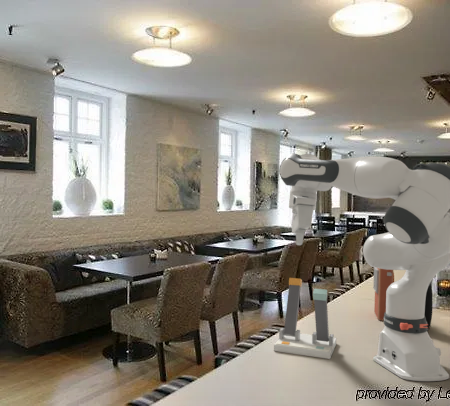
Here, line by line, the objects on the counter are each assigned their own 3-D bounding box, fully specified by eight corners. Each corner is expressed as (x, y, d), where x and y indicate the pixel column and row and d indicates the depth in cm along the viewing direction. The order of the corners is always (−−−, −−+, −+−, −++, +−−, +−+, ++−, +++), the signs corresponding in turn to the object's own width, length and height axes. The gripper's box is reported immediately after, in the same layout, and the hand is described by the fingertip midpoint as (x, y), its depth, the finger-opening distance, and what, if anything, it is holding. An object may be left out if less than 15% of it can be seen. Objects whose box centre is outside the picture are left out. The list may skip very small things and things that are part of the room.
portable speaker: (405, 325, 176) (406, 275, 176) (431, 328, 172) (433, 277, 172) (404, 331, 168) (405, 279, 168) (432, 335, 165) (433, 281, 164)
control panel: (388, 312, 195) (394, 322, 180) (371, 311, 196) (376, 321, 181) (390, 262, 194) (395, 268, 179) (372, 262, 195) (377, 267, 181)
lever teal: (317, 336, 150) (314, 288, 141) (329, 338, 148) (327, 289, 140) (316, 341, 148) (312, 293, 139) (328, 343, 146) (326, 294, 138)
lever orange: (284, 335, 153) (290, 279, 160) (296, 337, 152) (302, 280, 159) (282, 334, 151) (289, 277, 158) (294, 336, 150) (300, 278, 157)
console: (284, 336, 160) (285, 322, 160) (336, 343, 154) (336, 329, 153) (273, 350, 146) (274, 335, 146) (329, 359, 140) (330, 342, 139)
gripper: (289, 207, 161) (286, 246, 159) (296, 197, 141) (292, 241, 138) (307, 209, 161) (304, 247, 158) (317, 199, 140) (313, 243, 138)
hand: (299, 244), depth 148 cm, fingers closed
